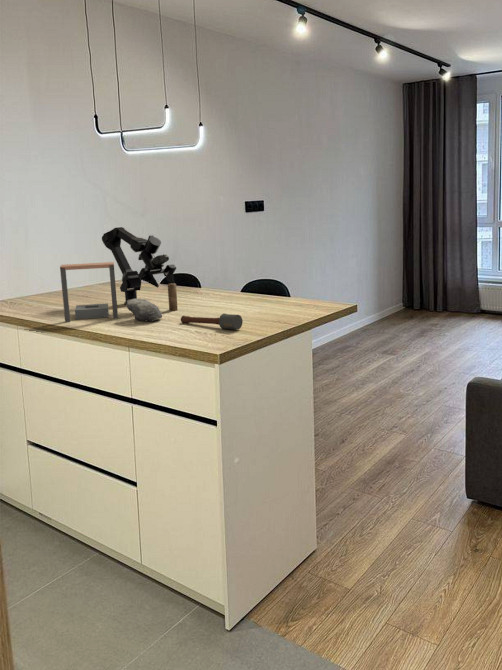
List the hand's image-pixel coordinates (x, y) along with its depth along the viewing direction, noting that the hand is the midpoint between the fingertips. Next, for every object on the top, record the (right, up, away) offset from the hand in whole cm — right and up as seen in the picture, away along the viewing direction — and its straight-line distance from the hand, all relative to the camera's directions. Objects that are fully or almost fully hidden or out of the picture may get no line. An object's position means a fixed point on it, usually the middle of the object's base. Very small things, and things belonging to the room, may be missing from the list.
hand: (166, 285), depth 289 cm
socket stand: (-31, -14, -10) cm, 36 cm away
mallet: (+23, -20, -41) cm, 50 cm away
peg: (+3, -11, -1) cm, 12 cm away
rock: (-6, -17, -23) cm, 29 cm away
